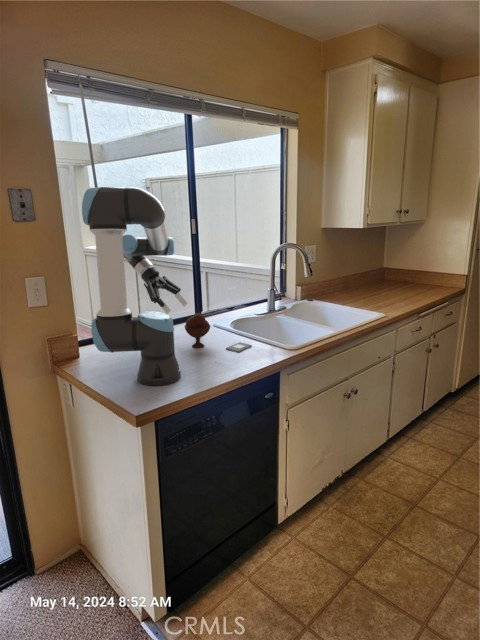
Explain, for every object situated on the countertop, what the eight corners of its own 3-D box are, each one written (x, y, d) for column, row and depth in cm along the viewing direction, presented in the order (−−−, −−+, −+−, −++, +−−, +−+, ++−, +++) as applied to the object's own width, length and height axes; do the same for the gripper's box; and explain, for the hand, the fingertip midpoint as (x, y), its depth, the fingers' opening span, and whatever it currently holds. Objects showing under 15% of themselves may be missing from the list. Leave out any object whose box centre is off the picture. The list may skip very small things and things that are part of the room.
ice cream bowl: (213, 343, 182) (213, 310, 178) (205, 351, 171) (204, 317, 167) (191, 341, 184) (190, 309, 180) (181, 349, 174) (180, 315, 170)
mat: (238, 352, 170) (238, 350, 170) (226, 349, 174) (225, 347, 174) (251, 346, 177) (251, 344, 177) (239, 343, 181) (239, 342, 181)
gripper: (159, 273, 192) (187, 307, 191) (124, 281, 170) (156, 320, 169) (168, 262, 189) (197, 297, 187) (133, 269, 167) (166, 309, 165)
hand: (178, 308), depth 178 cm, fingers open, 13 cm apart
